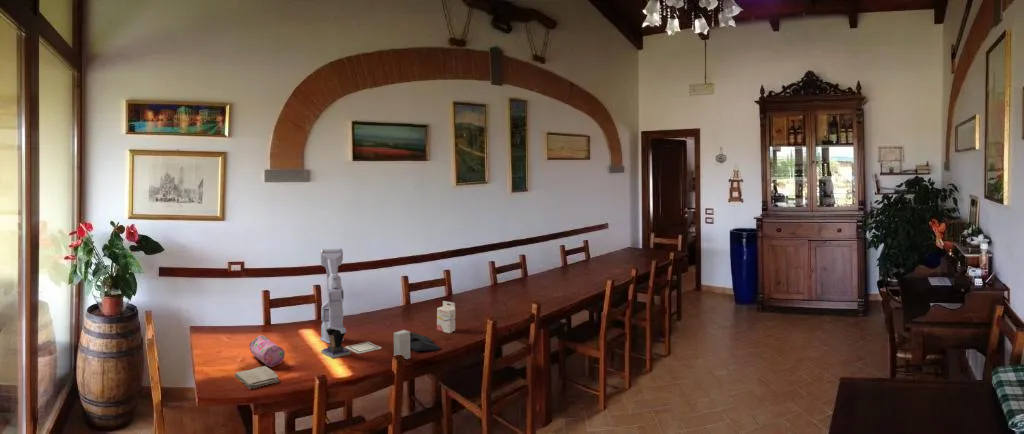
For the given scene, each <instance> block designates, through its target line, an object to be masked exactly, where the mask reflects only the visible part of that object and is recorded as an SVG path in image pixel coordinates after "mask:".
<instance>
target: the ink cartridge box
mask: <svg viewBox="0 0 1024 434" xmlns="http://www.w3.org/2000/svg"><path fill="white" fill-rule="evenodd" d="M436 331H439V332H443V333H446V334H451V333H453V331H454V332H456V303H455V302H452V301H446V300H442V306H440V307H437V308H436Z"/></svg>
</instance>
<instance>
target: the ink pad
mask: <svg viewBox="0 0 1024 434" xmlns="http://www.w3.org/2000/svg"><path fill="white" fill-rule="evenodd" d="M321 354H323V355H324V356H327V357H329V358H330V359H335V358H339V357H344V356H349V355H351V354H352V351H351V350H349V349H347V348H345V346H343V350H340V351H336V352H332V351H330V350H328V347H327V348H323V349H321Z"/></svg>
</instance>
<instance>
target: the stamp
mask: <svg viewBox="0 0 1024 434" xmlns="http://www.w3.org/2000/svg"><path fill="white" fill-rule="evenodd" d="M343 347H344V345H341V347H336V345H335V339H334V336H333V335H330V343H329V345H327V348H328V350H330V351H332V352H336V351H340V350H343Z"/></svg>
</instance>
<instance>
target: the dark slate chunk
mask: <svg viewBox="0 0 1024 434" xmlns="http://www.w3.org/2000/svg"><path fill="white" fill-rule="evenodd" d="M409 332H410V350H412V351H415V352H417V353H418V352H428V351H429V352H432V350H433V351H439V349H440V350H442V348H441V347H440V346H439V345H438V344H436V343H435V342H434V341H433V340H432V339H431V338H430V337H428V336H426V335H423V334H420V333H416V332H412V331H409Z"/></svg>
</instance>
